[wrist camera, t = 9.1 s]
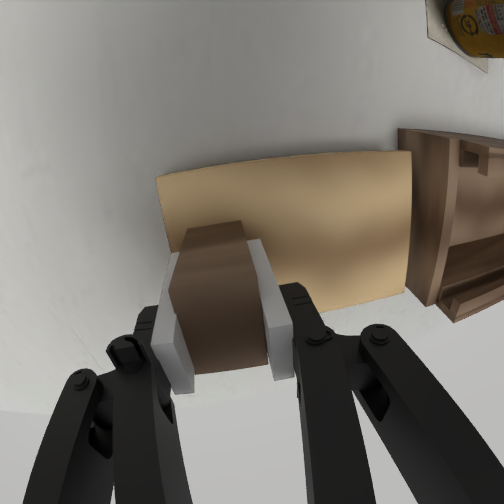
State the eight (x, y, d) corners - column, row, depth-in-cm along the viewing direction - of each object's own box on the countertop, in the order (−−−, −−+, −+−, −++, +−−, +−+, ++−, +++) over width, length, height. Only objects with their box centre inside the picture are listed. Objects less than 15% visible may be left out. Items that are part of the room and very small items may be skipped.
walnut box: (397, 128, 18) (479, 145, 11) (514, 142, 19) (570, 162, 12) (389, 269, 23) (444, 327, 16) (501, 241, 25) (547, 274, 17)
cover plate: (159, 175, 15) (110, 206, 8) (402, 150, 16) (493, 167, 9) (193, 325, 19) (187, 419, 12) (397, 286, 20) (459, 347, 13)
